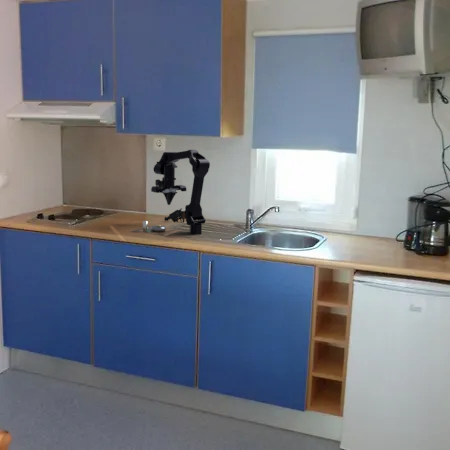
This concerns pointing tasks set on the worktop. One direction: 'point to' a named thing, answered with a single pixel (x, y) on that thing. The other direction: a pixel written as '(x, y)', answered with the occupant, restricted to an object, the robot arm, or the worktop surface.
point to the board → (165, 233)
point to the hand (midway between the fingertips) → (168, 204)
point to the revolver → (176, 216)
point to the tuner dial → (153, 227)
